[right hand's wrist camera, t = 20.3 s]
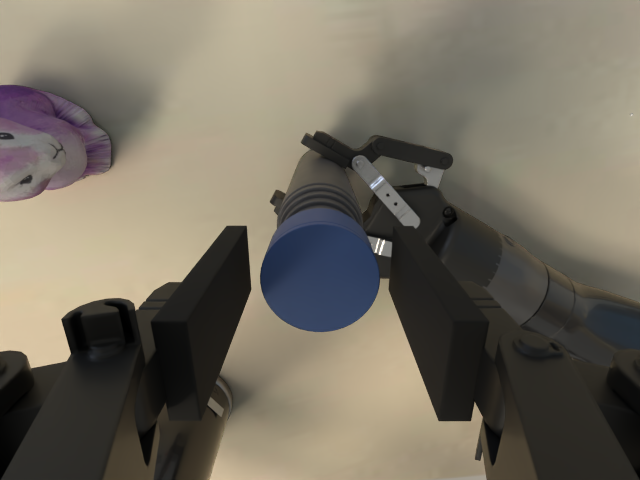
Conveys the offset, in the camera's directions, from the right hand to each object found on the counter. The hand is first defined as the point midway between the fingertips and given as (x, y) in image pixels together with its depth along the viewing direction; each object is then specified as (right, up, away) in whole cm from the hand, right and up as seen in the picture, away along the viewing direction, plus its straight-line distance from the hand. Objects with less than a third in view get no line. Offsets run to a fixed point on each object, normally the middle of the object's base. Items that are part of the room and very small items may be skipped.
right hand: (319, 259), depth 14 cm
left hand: (-2, +6, +13) cm, 15 cm away
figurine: (-23, +10, +18) cm, 31 cm away
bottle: (0, +7, +19) cm, 21 cm away
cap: (0, -1, -2) cm, 2 cm away
